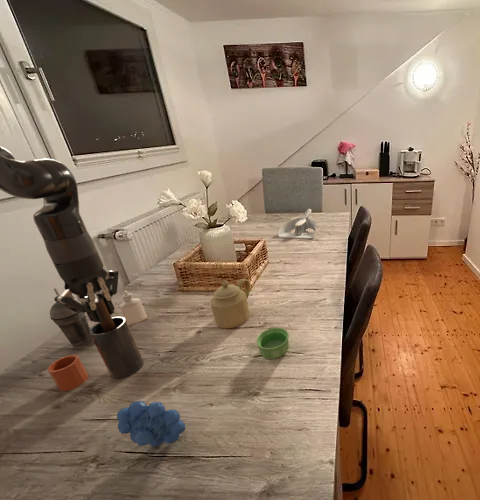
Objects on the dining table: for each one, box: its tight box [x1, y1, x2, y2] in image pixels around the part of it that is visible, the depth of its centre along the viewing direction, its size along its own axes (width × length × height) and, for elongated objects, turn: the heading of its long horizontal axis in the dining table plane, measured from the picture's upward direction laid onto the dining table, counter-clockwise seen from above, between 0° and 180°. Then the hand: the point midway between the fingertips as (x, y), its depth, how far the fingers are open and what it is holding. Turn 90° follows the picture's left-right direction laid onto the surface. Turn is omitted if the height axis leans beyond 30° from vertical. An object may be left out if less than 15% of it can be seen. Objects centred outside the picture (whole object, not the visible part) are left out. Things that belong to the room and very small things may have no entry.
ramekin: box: [256, 327, 290, 360], centre depth 81 cm, size 9×9×4 cm
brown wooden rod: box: [95, 297, 116, 333], centre depth 71 cm, size 4×4×19 cm
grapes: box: [116, 400, 187, 447], centre depth 55 cm, size 12×7×12 cm, turn 97°
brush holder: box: [47, 354, 89, 392], centre depth 71 cm, size 6×6×7 cm
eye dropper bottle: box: [119, 290, 148, 326], centre depth 93 cm, size 4×6×12 cm
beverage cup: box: [49, 288, 93, 348], centre depth 82 cm, size 7×7×20 cm
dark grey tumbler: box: [89, 316, 145, 380], centre depth 73 cm, size 7×7×15 cm
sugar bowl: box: [209, 278, 251, 329], centre depth 95 cm, size 15×11×15 cm
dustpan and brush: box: [277, 208, 318, 240], centre depth 178 cm, size 23×33×10 cm
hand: (104, 317), depth 69 cm, fingers closed on brown wooden rod, 2 cm apart
